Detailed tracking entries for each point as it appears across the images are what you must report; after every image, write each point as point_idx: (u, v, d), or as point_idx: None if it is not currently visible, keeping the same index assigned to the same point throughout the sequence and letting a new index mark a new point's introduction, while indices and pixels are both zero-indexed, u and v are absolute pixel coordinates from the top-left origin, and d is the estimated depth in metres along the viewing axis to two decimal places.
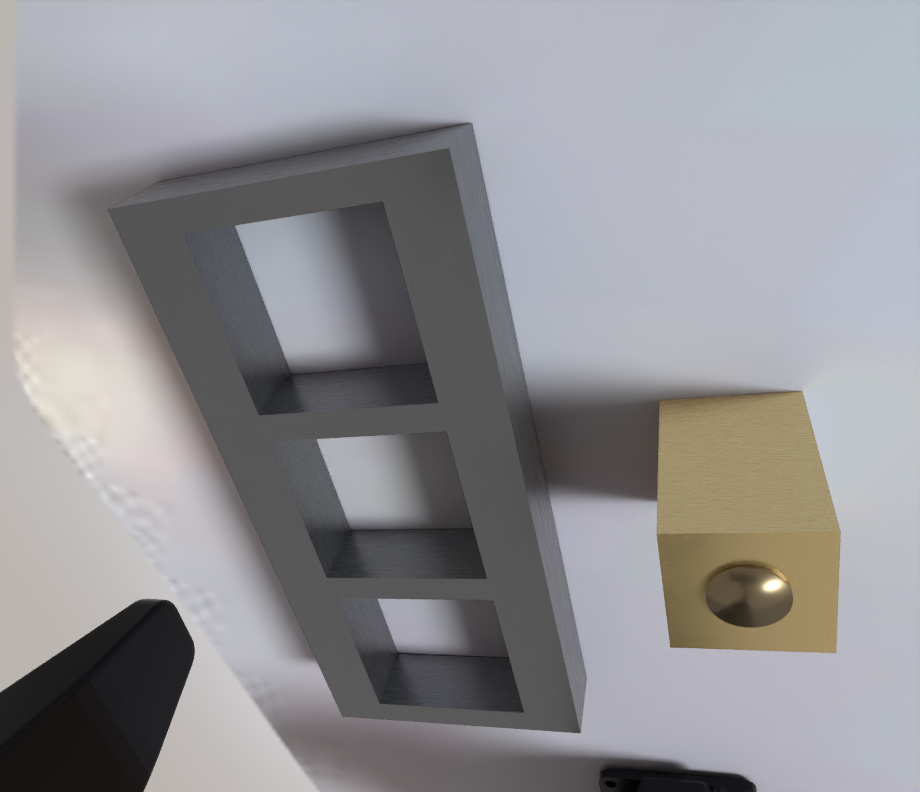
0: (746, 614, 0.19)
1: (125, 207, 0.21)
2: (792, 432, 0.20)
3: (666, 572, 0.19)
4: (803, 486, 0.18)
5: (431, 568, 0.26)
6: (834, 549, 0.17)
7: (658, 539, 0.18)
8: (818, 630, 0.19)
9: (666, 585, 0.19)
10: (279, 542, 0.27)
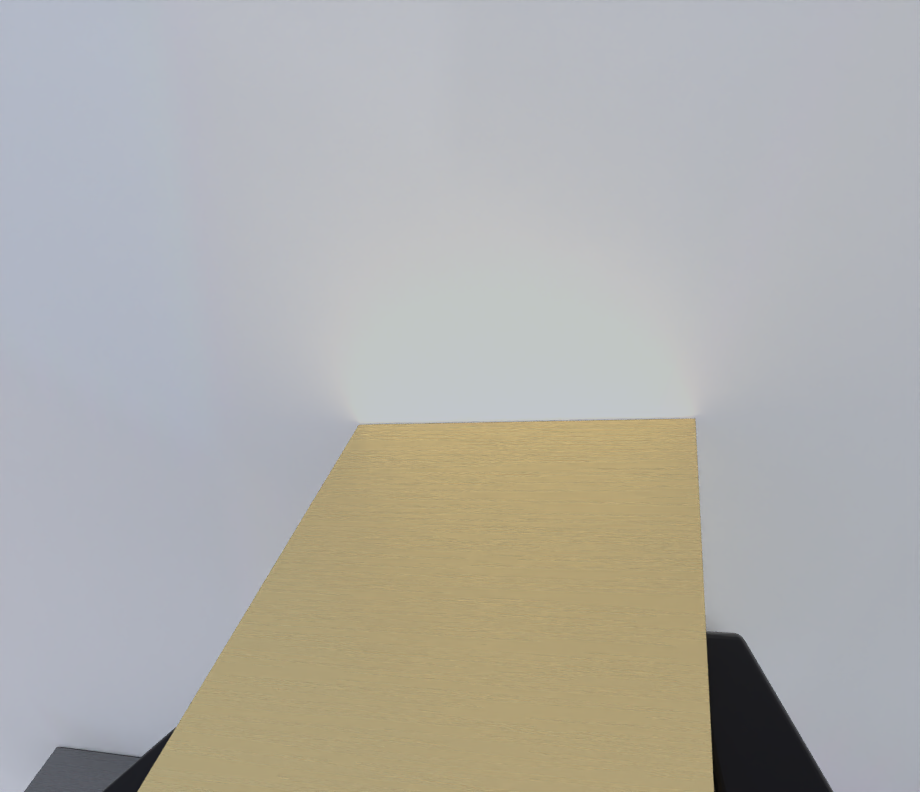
0: None
1: None
2: None
3: None
4: None
5: None
6: None
7: None
8: None
9: None
10: None
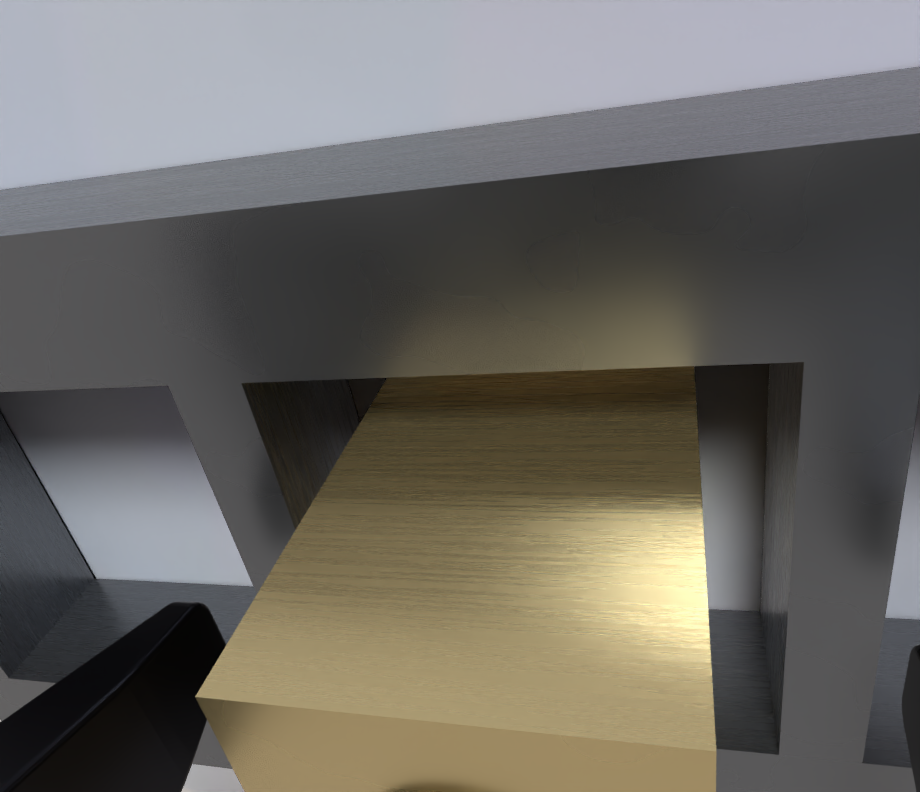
0: None
1: None
2: None
3: None
4: None
5: (787, 505, 0.08)
6: (259, 710, 0.06)
7: None
8: (599, 774, 0.05)
9: None
10: None
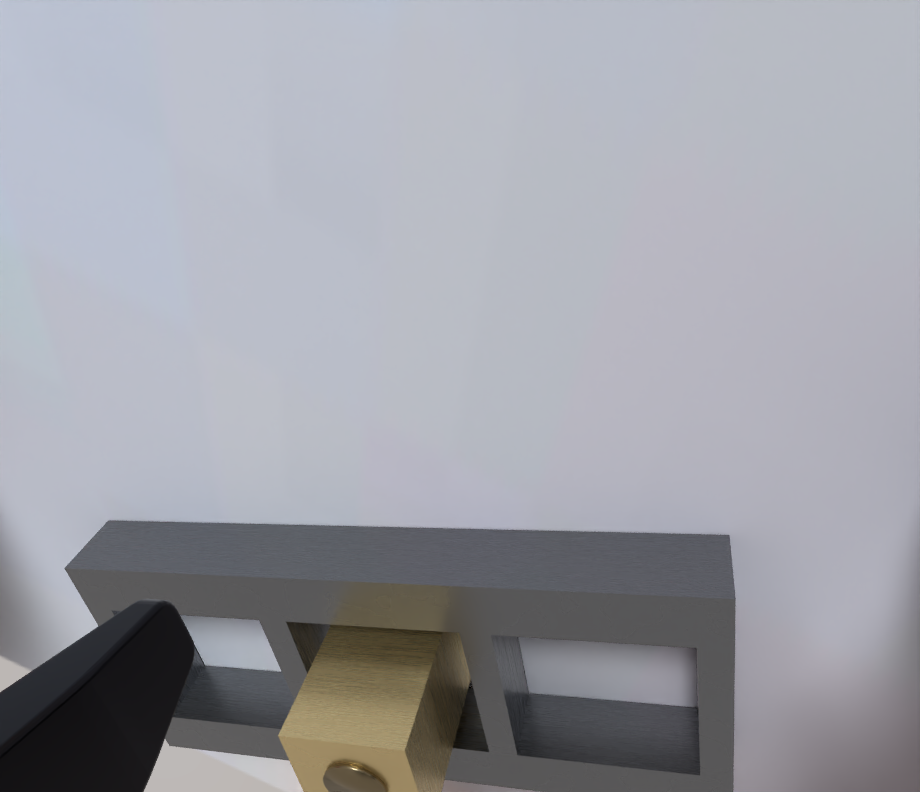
0: None
1: None
2: None
3: None
4: None
5: None
6: (295, 739, 0.22)
7: None
8: (381, 756, 0.22)
9: None
10: (449, 768, 0.27)
